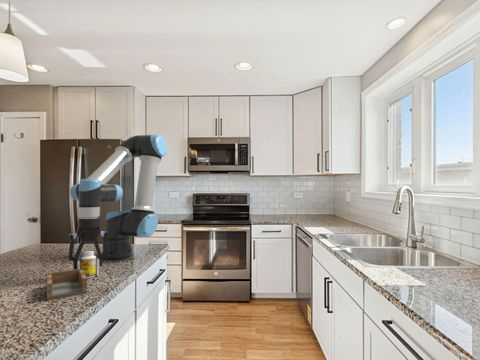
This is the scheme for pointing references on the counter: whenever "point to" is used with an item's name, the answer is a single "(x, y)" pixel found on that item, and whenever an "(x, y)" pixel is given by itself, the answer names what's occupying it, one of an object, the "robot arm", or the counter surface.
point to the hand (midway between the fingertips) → (87, 276)
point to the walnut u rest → (66, 284)
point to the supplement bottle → (88, 263)
